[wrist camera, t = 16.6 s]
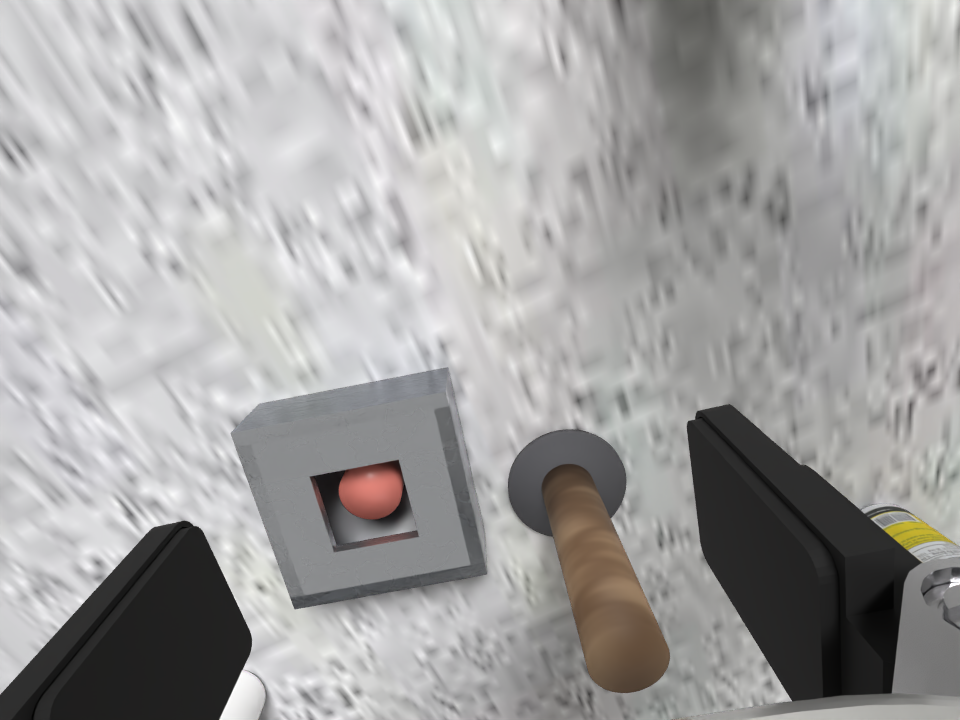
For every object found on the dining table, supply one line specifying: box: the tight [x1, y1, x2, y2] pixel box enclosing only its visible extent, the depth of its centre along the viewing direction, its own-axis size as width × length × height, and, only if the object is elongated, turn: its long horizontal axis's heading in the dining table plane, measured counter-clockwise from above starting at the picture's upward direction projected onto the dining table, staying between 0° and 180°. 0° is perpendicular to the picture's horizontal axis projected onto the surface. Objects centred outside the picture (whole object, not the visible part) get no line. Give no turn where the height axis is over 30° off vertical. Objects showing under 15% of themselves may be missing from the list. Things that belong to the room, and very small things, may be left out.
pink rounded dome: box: [339, 460, 404, 519], centre depth 39 cm, size 4×4×2 cm
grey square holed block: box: [231, 368, 487, 609], centre depth 39 cm, size 14×14×5 cm
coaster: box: [508, 430, 626, 536], centre depth 41 cm, size 9×9×1 cm
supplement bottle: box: [861, 504, 960, 563], centre depth 39 cm, size 6×6×11 cm
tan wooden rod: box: [541, 464, 670, 693], centre depth 34 cm, size 4×4×16 cm
